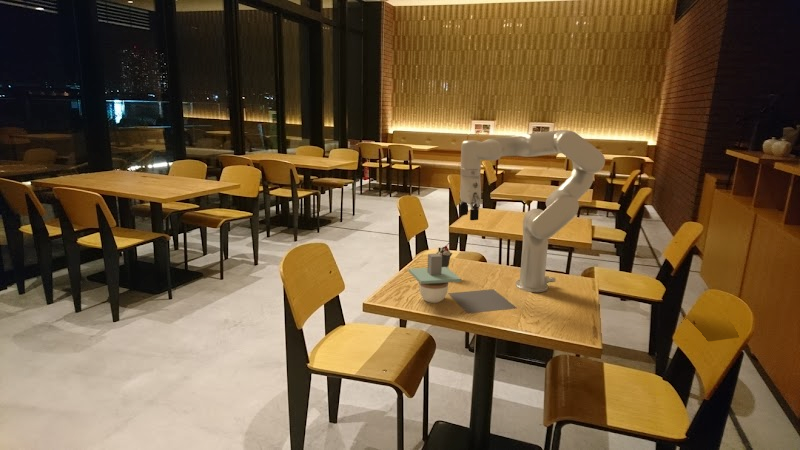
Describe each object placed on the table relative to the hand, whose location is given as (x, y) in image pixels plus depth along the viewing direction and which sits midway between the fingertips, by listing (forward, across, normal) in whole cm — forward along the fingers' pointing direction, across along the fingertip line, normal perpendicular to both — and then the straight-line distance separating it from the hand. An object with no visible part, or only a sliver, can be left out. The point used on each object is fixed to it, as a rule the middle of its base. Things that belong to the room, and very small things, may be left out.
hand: (468, 217), depth 184 cm
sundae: (+28, +12, +5) cm, 31 cm away
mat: (+28, -17, +1) cm, 33 cm away
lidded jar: (+28, -11, +18) cm, 35 cm away
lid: (+18, -11, +18) cm, 28 cm away
